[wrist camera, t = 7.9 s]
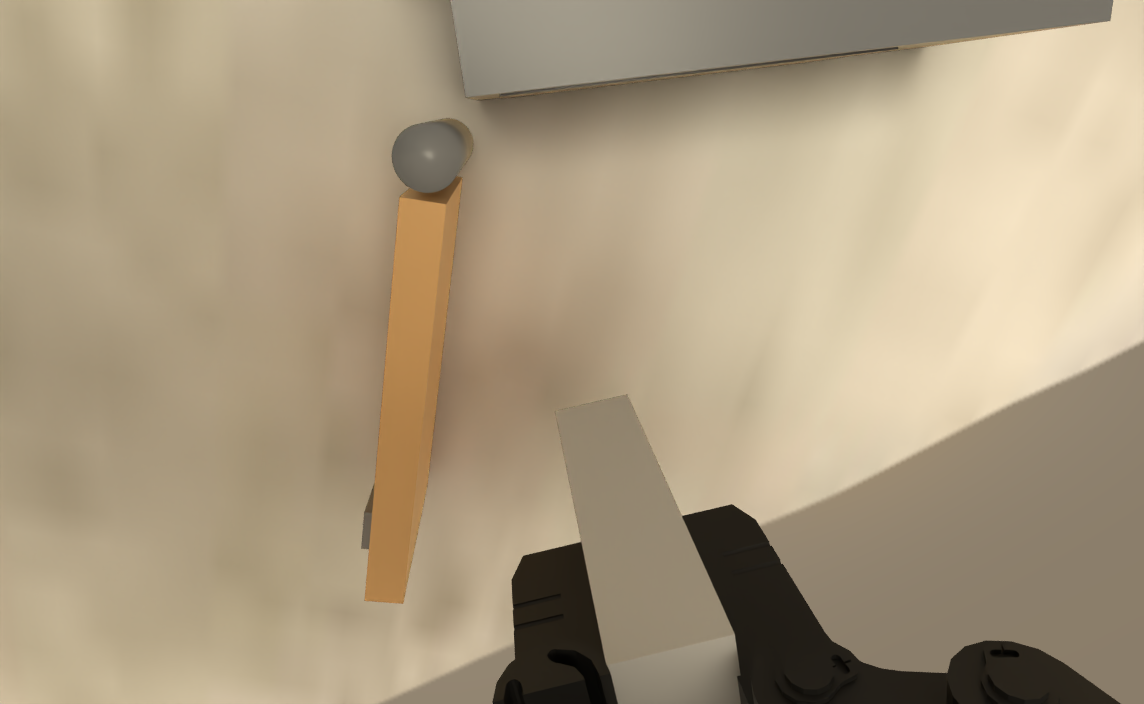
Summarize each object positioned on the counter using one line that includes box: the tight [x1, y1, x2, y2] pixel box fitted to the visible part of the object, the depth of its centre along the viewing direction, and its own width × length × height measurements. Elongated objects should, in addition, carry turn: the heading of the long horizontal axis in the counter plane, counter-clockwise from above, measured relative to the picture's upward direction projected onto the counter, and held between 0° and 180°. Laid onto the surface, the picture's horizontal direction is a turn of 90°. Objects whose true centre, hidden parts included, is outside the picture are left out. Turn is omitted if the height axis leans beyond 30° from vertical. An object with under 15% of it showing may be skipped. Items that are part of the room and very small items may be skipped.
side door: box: [361, 118, 473, 604], centre depth 19 cm, size 12×2×6 cm, turn 170°
